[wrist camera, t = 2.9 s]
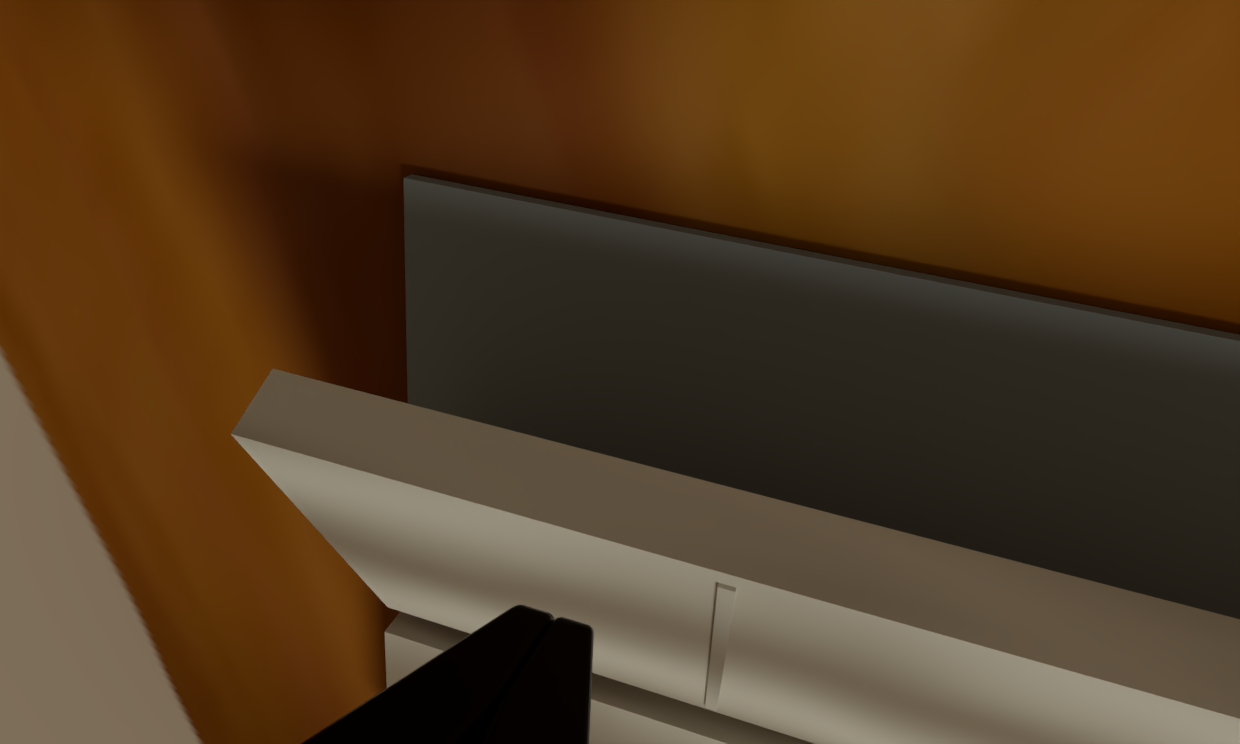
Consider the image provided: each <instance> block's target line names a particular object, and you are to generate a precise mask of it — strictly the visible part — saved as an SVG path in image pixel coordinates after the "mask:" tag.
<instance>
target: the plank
mask: <svg viewBox="0 0 1240 744" xmlns="http://www.w3.org/2000/svg"><path fill="white" fill-rule="evenodd" d="M231 435H232V436H233V437H234V438H235V439H236V440H237V441H238V443H239V444H240V445H241V446H242V447H243V448H244V449H245V450H246V451H247V452H248V454H249V455H250V456H251V457H252V458H253V459H254V460H255V461H256V462H257V464H258V465H259V466H260V467H261V468H262V469H263V470H264V471H265V472H266V473H267V475H268V476H269V477H270V478H271V479H272V480H273V481H274V482H275V483H276V485H277V486H278V487H279V488H280V489H281V490H282V491H283V492H284V493H285V494H286V496H287V497H288V498H289V499H290V500H291V501H292V502H293V503H294V504H295V506H296V507H297V508H298V509H299V510H300V511H301V512H302V513H303V514H304V515H305V517H306V518H307V519H308V520H309V521H310V522H311V523H312V524H313V525H314V527H315V528H316V529H317V530H318V531H319V532H320V533H321V534H322V535H323V536H324V538H325V539H326V540H327V541H328V542H329V543H330V544H331V545H332V546H333V548H334V549H335V550H336V551H337V552H338V553H339V554H340V555H341V556H342V557H343V559H344V560H345V561H346V562H347V563H348V564H349V565H350V566H351V567H352V569H353V570H354V571H355V572H356V573H357V574H358V575H359V576H360V577H361V578H362V580H363V581H364V582H365V583H366V584H367V585H368V586H369V587H370V588H371V590H372V591H373V592H374V593H375V594H376V595H377V596H378V597H379V598H380V599H381V601H382V602H383V603H384V604H385V605H386V606H387V607H388V608H391V609H395V610H398V611H401V612H404V613H407V614H410V615H413V616H416V617H420V618H423V619H426V620H429V621H432V622H435V623H438V624H442V625H445V626H448V627H451V628H454V629H457V630H460V631H463V632H467V633H470V634H471V633H473V632H474V631H476V630H477V629H479V628H481V627H482V626H484V625H485V624H487V623H488V622H490V621H491V620H493V619H494V618H496V617H498V616H499V615H501V614H502V613H504V612H505V611H507V610H508V609H510V608H512V607H513V606H516V605H526V606H529V607H532V608H536V609H539V610H542V611H546V612H549V613H551V614H552V615H553V616H554V618H555V619H556V618H557V617H565V618H568V619H572V620H575V621H578V622H581V623H585V624H588V625H590V626H591V627H592V628H593V631H594V641H593V664H592V673H595V674H598V675H601V676H604V677H607V678H611V679H614V680H617V681H620V682H623V683H626V684H629V685H633V686H636V687H639V688H642V689H645V690H648V691H651V692H654V693H658V694H661V695H664V696H667V697H670V698H673V699H676V700H680V701H683V702H686V703H689V704H692V705H695V706H698V707H701V708H705V709H708V710H711V711H714V712H717V713H720V714H723V715H726V716H730V717H733V718H736V719H739V720H742V721H745V722H748V723H752V724H755V725H758V726H761V727H764V728H767V729H770V730H773V731H777V732H780V733H783V734H786V735H789V736H792V737H795V738H798V739H802V740H805V741H808V742H811V743H814V744H1240V619H1236V618H1232V617H1229V616H1225V615H1221V614H1217V613H1213V612H1209V611H1205V610H1202V609H1198V608H1194V607H1190V606H1186V605H1182V604H1178V603H1175V602H1171V601H1167V600H1163V599H1159V598H1155V597H1151V596H1148V595H1144V594H1140V593H1136V592H1132V591H1128V590H1124V589H1121V588H1117V587H1113V586H1109V585H1105V584H1101V583H1098V582H1094V581H1090V580H1086V579H1082V578H1078V577H1074V576H1071V575H1067V574H1063V573H1059V572H1055V571H1051V570H1047V569H1044V568H1040V567H1036V566H1032V565H1028V564H1024V563H1020V562H1017V561H1013V560H1009V559H1005V558H1001V557H997V556H993V555H990V554H986V553H982V552H978V551H974V550H970V549H966V548H963V547H959V546H955V545H951V544H947V543H943V542H939V541H936V540H932V539H928V538H924V537H920V536H916V535H912V534H909V533H905V532H901V531H897V530H893V529H889V528H886V527H882V526H878V525H874V524H870V523H866V522H862V521H859V520H855V519H851V518H847V517H843V516H839V515H835V514H832V513H828V512H824V511H820V510H816V509H812V508H808V507H805V506H801V505H797V504H793V503H789V502H785V501H781V500H778V499H774V498H770V497H766V496H762V495H758V494H754V493H751V492H747V491H743V490H739V489H735V488H731V487H727V486H724V485H720V484H716V483H712V482H708V481H704V480H700V479H697V478H693V477H689V476H685V475H681V474H677V473H674V472H670V471H666V470H662V469H658V468H654V467H650V466H647V465H643V464H639V463H635V462H631V461H627V460H623V459H620V458H616V457H612V456H608V455H604V454H600V453H596V452H593V451H589V450H585V449H581V448H577V447H573V446H569V445H566V444H562V443H558V442H554V441H550V440H546V439H542V438H539V437H535V436H531V435H527V434H523V433H519V432H515V431H512V430H508V429H504V428H500V427H496V426H492V425H488V424H485V423H481V422H477V421H473V420H469V419H465V418H461V417H458V416H454V415H450V414H446V413H442V412H438V411H435V410H431V409H427V408H423V407H419V406H415V405H411V404H408V403H404V402H400V401H396V400H392V399H388V398H384V397H381V396H377V395H373V394H369V393H365V392H361V391H357V390H354V389H350V388H346V387H342V386H338V385H334V384H330V383H327V382H323V381H319V380H315V379H311V378H307V377H303V376H300V375H296V374H292V373H288V372H284V371H280V370H276V369H272V370H271V372H270V373H269V375H268V377H267V378H266V380H265V381H264V383H263V384H262V386H261V388H260V389H259V391H258V392H257V394H256V395H255V397H254V398H253V400H252V402H251V403H250V405H249V406H248V408H247V409H246V411H245V412H244V414H243V416H242V417H241V419H240V420H239V422H238V423H237V425H236V427H235V428H234V430H233V431H232V433H231Z"/></svg>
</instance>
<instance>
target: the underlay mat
mask: <svg viewBox="0 0 1240 744" xmlns="http://www.w3.org/2000/svg"><path fill="white" fill-rule="evenodd" d="M403 182H404V236H405V290H406V344H407V397H408V404H411V405H415V406H419V407H423V408H427V409H431V410H435V411H438V412H442V413H446V414H450V415H454V416H458V417H461V418H465V419H469V420H473V421H477V422H481V423H485V424H488V425H492V426H496V427H500V428H504V429H508V430H512V431H515V432H519V433H523V434H527V435H531V436H535V437H539V438H542V439H546V440H550V441H554V442H558V443H562V444H566V445H569V446H573V447H577V448H581V449H585V450H589V451H593V452H596V453H600V454H604V455H608V456H612V457H616V458H620V459H623V460H627V461H631V462H635V463H639V464H643V465H647V466H650V467H654V468H658V469H662V470H666V471H670V472H674V473H677V474H681V475H685V476H689V477H693V478H697V479H700V480H704V481H708V482H712V483H716V484H720V485H724V486H727V487H731V488H735V489H739V490H743V491H747V492H751V493H754V494H758V495H762V496H766V497H770V498H774V499H778V500H781V501H785V502H789V503H793V504H797V505H801V506H805V507H808V508H812V509H816V510H820V511H824V512H828V513H832V514H835V515H839V516H843V517H847V518H851V519H855V520H859V521H862V522H866V523H870V524H874V525H878V526H882V527H886V528H889V529H893V530H897V531H901V532H905V533H909V534H912V535H916V536H920V537H924V538H928V539H932V540H936V541H939V542H943V543H947V544H951V545H955V546H959V547H963V548H966V549H970V550H974V551H978V552H982V553H986V554H990V555H993V556H997V557H1001V558H1005V559H1009V560H1013V561H1017V562H1020V563H1024V564H1028V565H1032V566H1036V567H1040V568H1044V569H1047V570H1051V571H1055V572H1059V573H1063V574H1067V575H1071V576H1074V577H1078V578H1082V579H1086V580H1090V581H1094V582H1098V583H1101V584H1105V585H1109V586H1113V587H1117V588H1121V589H1124V590H1128V591H1132V592H1136V593H1140V594H1144V595H1148V596H1151V597H1155V598H1159V599H1163V600H1167V601H1171V602H1175V603H1178V604H1182V605H1186V606H1190V607H1194V608H1198V609H1202V610H1205V611H1209V612H1213V613H1217V614H1221V615H1225V616H1229V617H1232V618H1236V619H1240V335H1239V334H1234V333H1229V332H1223V331H1218V330H1213V329H1208V328H1203V327H1198V326H1192V325H1187V324H1182V323H1177V322H1172V321H1167V320H1161V319H1156V318H1151V317H1146V316H1141V315H1136V314H1130V313H1125V312H1120V311H1115V310H1110V309H1105V308H1100V307H1094V306H1089V305H1084V304H1079V303H1074V302H1069V301H1063V300H1058V299H1053V298H1048V297H1043V296H1038V295H1032V294H1027V293H1022V292H1017V291H1012V290H1007V289H1001V288H996V287H991V286H986V285H981V284H976V283H971V282H965V281H960V280H955V279H950V278H945V277H940V276H934V275H929V274H924V273H919V272H914V271H909V270H903V269H898V268H893V267H888V266H883V265H878V264H872V263H867V262H862V261H857V260H852V259H847V258H842V257H836V256H831V255H826V254H821V253H816V252H811V251H805V250H800V249H795V248H790V247H785V246H780V245H774V244H769V243H764V242H759V241H754V240H749V239H743V238H738V237H733V236H728V235H723V234H718V233H713V232H707V231H702V230H697V229H692V228H687V227H682V226H676V225H671V224H666V223H661V222H656V221H651V220H645V219H640V218H635V217H630V216H625V215H620V214H614V213H609V212H604V211H599V210H594V209H589V208H584V207H578V206H573V205H568V204H563V203H558V202H553V201H547V200H542V199H537V198H532V197H527V196H522V195H516V194H511V193H506V192H501V191H496V190H491V189H485V188H480V187H475V186H470V185H465V184H460V183H455V182H449V181H444V180H439V179H434V178H429V177H424V176H418V175H413V174H411V175H409V176H406V177H404V178H403Z"/></svg>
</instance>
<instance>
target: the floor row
mask: <svg viewBox="0 0 1240 744" xmlns="http://www.w3.org/2000/svg"><path fill="white" fill-rule="evenodd" d="M468 635H470V633H467V632H463V631H460V630H457V629H454V628H451V627H448V626H445V625H442V624H438V623H435V622H432V621H429V620H426V619H423V618H420V617H416V616H413V615H410V614H407V613H404V612H401V611H400V612H399V614H398V615H397V616H396V618H395V619H394V620H393V621H392V623H391V624H390V625H389V627H388V628H387V629H386V630H385V657H386V683H387V688H388V687H389V686H391V685H392V684H394V683H395V682H397V681H399V680H400V679H402V678H403V677H405V676H406V675H408V674H409V673H411V672H412V671H414V670H416V669H417V668H419V667H420V666H422V665H423V664H425V663H426V662H428V661H429V660H431V659H433V658H434V657H436V656H437V655H439V654H440V653H442V652H443V651H445V650H447V649H448V648H450V647H451V646H453V645H454V644H456V643H457V642H459V641H460V640H462V639H464V638H465V637H467V636H468ZM589 744H814V743H811V742H808V741H805V740H802V739H798V738H795V737H792V736H789V735H786V734H783V733H780V732H777V731H773V730H770V729H767V728H764V727H761V726H758V725H755V724H752V723H748V722H745V721H742V720H739V719H736V718H733V717H730V716H726V715H723V714H720V713H717V712H714V711H711V710H708V709H705V708H701V707H698V706H695V705H692V704H689V703H686V702H683V701H680V700H676V699H673V698H670V697H667V696H664V695H661V694H658V693H654V692H651V691H648V690H645V689H642V688H639V687H636V686H633V685H629V684H626V683H623V682H620V681H617V680H614V679H611V678H607V677H604V676H601V675H598V674H595V673H592V688H591V712H590V735H589Z"/></svg>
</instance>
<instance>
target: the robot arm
mask: <svg viewBox="0 0 1240 744" xmlns="http://www.w3.org/2000/svg"><path fill="white" fill-rule="evenodd" d="M593 641H594V631H593V628H592V627H591V626H590V625H588V624H585V623H581V622H578V621H575V620H572V619H568V618H565V617H557V618H556V619H555V618H554V616H553V615H552V614H551V613H549V612H546V611H542V610H539V609H536V608H532V607H529V606H526V605H516V606H513V607H512V608H510V609H508V610H507V611H505V612H504V613H502V614H501V615H499V616H498V617H496V618H494V619H493V620H491V621H490V622H488V623H487V624H485V625H484V626H482V627H481V628H479V629H477V630H476V631H474V632H473V633H471V634H470V635H468V636H467V637H465V638H464V639H462V640H460V641H459V642H457V643H456V644H454V645H453V646H451V647H450V648H448V649H447V650H445V651H443V652H442V653H440V654H439V655H437V656H436V657H434V658H433V659H431V660H429V661H428V662H426V663H425V664H423V665H422V666H420V667H419V668H417V669H416V670H414V671H412V672H411V673H409V674H408V675H406V676H405V677H403V678H402V679H400V680H399V681H397V682H395V683H394V684H392V685H391V686H389V687H388V688H386V689H385V690H383V691H382V692H380V693H378V694H377V695H375V696H374V697H372V698H371V699H369V700H368V701H366V702H365V703H363V704H361V705H360V706H358V707H357V708H355V709H354V710H352V711H351V712H349V713H348V714H346V715H344V716H343V717H341V718H340V719H338V720H337V721H335V722H334V723H332V724H330V725H329V726H327V727H326V728H324V729H323V730H321V731H320V732H318V733H317V734H315V735H313V736H312V737H310V738H309V739H307V740H306V741H304V742H303V743H301V744H589V735H590V712H591V688H592V664H593Z"/></svg>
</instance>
